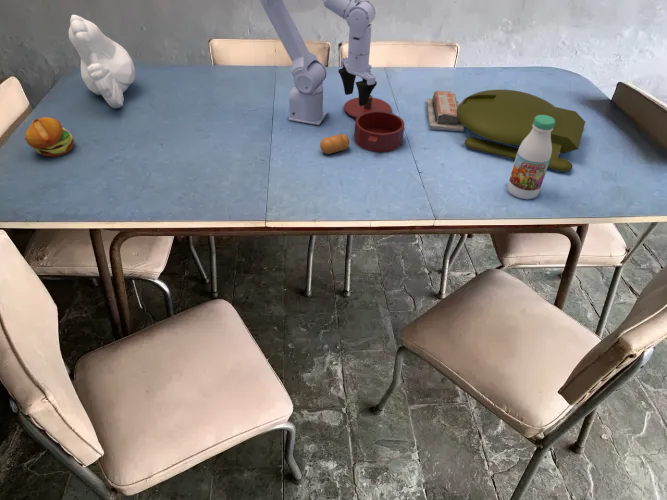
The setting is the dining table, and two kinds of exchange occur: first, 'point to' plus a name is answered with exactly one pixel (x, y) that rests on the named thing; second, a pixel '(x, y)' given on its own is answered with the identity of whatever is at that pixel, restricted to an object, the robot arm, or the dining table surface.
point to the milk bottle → (532, 159)
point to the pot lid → (365, 106)
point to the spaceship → (517, 124)
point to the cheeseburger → (49, 137)
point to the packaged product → (443, 112)
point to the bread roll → (334, 143)
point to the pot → (379, 131)
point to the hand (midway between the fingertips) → (355, 99)
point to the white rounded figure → (101, 61)
